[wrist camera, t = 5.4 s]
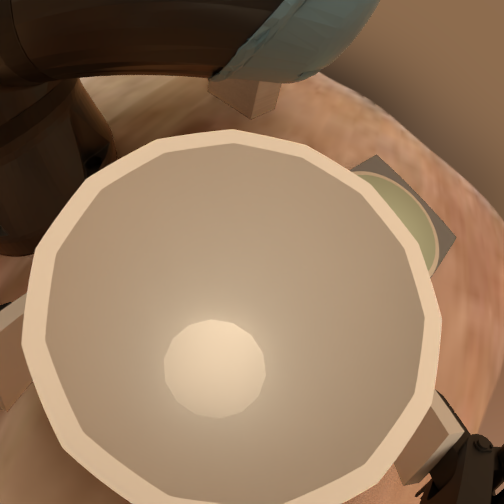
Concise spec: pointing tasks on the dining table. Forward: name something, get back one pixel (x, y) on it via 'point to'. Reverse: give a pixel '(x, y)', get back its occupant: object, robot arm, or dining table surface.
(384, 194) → the square coaster
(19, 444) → the dining table surface
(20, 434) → the dining table surface
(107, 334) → the foam cup
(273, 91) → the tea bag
